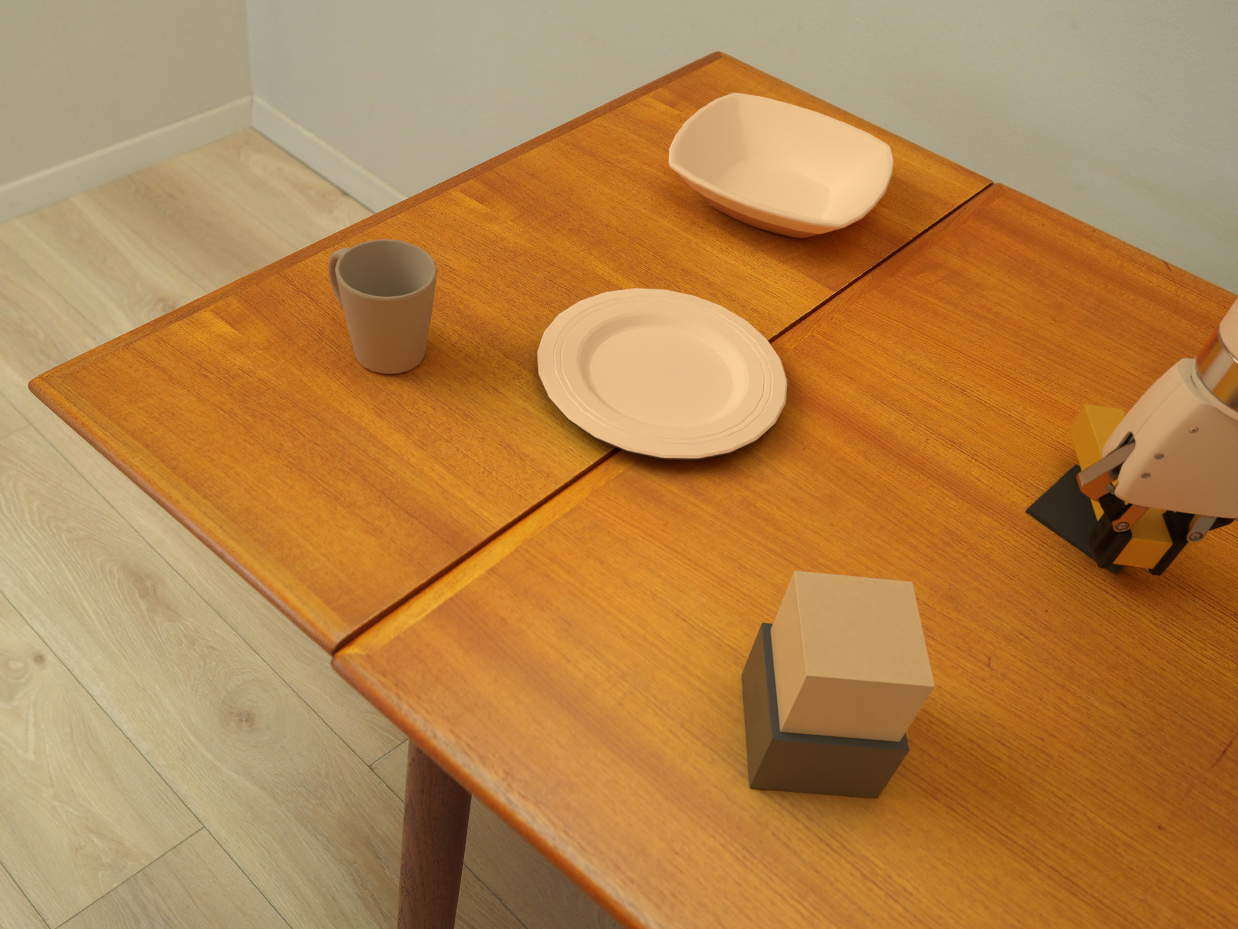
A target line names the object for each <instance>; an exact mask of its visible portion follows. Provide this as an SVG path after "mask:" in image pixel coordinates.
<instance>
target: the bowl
mask: <svg viewBox="0 0 1238 929" xmlns="http://www.w3.org/2000/svg"><path fill="white" fill-rule="evenodd" d="M668 149H669V150H668V166H669V168H671V170H672V171H673V172H675V174H677V175H678V176H679V178H680V179H682V180H683V181H684V182H685V183H686V184H687V185H688V186H689V187H690V188H691V189H693V190H694V191H695V192H696V193H697V195H698V194H699V196H700V197H701V198H702V199H703V200H704V201H705V202H707V203H708V205H710V206H711V207H712V208H714V209H715V210H717V211H719V212H721V213H723V214H725V215H727V216H729V217H731V218H733V219H734V220H737V221H739V222H741V223H744V224H745V225H749V226H751V227H754V228H757V229H759V230H763V231H765V232H770V233H774V234H778V235H782V236H786V237H790V238H797V239H806V238H810V237H814V236H818V235H821V234H826V233H830V232H833V231H837V230H840V229H844V228H846V227H848V226H850V225H853V224H854V223H856V222H858V221H861V220H862V219H863V218H864V217H865V216H866V215H868V214H869V213H870V212H871V211H872V210H873V209H874V208H875V207H876V205H877V204H878V203H879V202H880V200H881V199H882V198H883V196H884V195H885V194H886V192H887V190H888V187H889V185H890V181H891V179H892V177H893V171H894V164H895V161H894V155H893V152H892V148H891V146H890V145H889V144H888V143H886V142H884V141H883V140H881V139H880V138H878V137H876V136H874V135H872V134H871V133H869V132H867V131H865V130H863V129H860V128H858V127H857V126H856V127H855V126H853V125H851V124H849V123H846V122H844V121H842V120H839V119H836V118H834V117H831V116H829V115H826V114H823V113H821V112H819V111H815V110H812V109H808V108H805V107H802V106H798V105H795V104H792V103H789V102H785V101H780V100H778V99H777V100H776V99H773V98H769V97H765V96H761V95H755V94H748V93H743V92H731V93H729V94H726V95H724V96H723V95H722V96H721V97H718V98H715V99H713V100H712V101H711V102H709V103H707V104H705V105H704V106H702V107H700V108H699V109H698V110H697V111H696V112H695V113H694V114H692V115H691V116H690V117H689V118H688V119H686V120H685V122H684V123H683V125H682V126H681V127H680V128H679V129H678V131H677V132H676V134H675V136H674V138H673V140H672V142H671V144H670V146H669V148H668Z"/></svg>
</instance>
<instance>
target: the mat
mask: <svg viewBox="0 0 1238 929" xmlns="http://www.w3.org/2000/svg"><path fill="white" fill-rule="evenodd" d="M1081 471H1082V470H1081V467H1080V464H1078V463H1075V464H1074V465H1073V466H1072V467H1071V468H1070V469H1069V470H1068V471H1066V473H1064V474H1063V475H1062V476H1061V477H1060V478H1059V479H1057V481H1056V482H1054V483H1053V484H1052V485H1051V486H1050V487H1049V488H1047V490H1046V491H1045V492H1044V493H1042V494H1041V495H1040V496H1039V497H1038V498H1037V499H1036V500H1035V501H1034V502H1033V503H1031V505H1029V506H1028V507H1027V508H1026V510H1025V513H1027V514H1028V515H1030V516H1031V517H1032V518H1034V519H1035V520H1037V521H1038V522H1040V524H1042V525H1044V527H1045V526H1046V527H1047V528H1048V529H1049V530H1051V531H1052V532H1054V533H1055V534H1057V535H1058V536H1059V537H1061V538H1062V539H1063V540H1065V541H1067V542H1068V543H1069V544H1071V545H1072V546H1074V547H1075V548H1077V549H1078V550H1079V551H1080V552H1082V553H1084V554H1085V555H1086V556H1088V558H1090V559H1092V560H1093V561H1095V562H1096V559H1095V555H1094V552H1093V550H1092V549H1091V548H1090V545H1089V541H1088V537H1089V533H1090V531H1091V530H1092V529H1093V527H1094V526H1095V524H1096V523H1097V522H1098V521H1097V518H1096V515H1095V511H1094V508H1093V505H1092V502H1091V499H1090V498H1089V497H1088V496H1086V495H1085V494H1084V493H1082V492H1081V491H1080V488H1079V485H1078V482H1077V479H1076V476H1077V474H1078V473H1079V472H1081ZM1125 566H1126V565H1120V564H1112V565H1111V566H1110V567H1108V568H1107V569H1106V570H1107V571H1109V572H1110V573H1112V574H1113V575H1114V576H1117V575H1118V574H1119V573H1120V572H1121V571H1122V570H1123V568H1125Z"/></svg>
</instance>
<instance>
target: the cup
mask: <svg viewBox="0 0 1238 929" xmlns="http://www.w3.org/2000/svg"><path fill="white" fill-rule="evenodd" d="M327 269H328V277H329V281H330V285H331V288H332V291H333V293H334V296H335V298H336V299H337V301H338V303H339V305H340V307H341V308H342V310H343V315H344V319H345V322H346V326H347V330H348V334H349V338H350V342H351V345H352V346H351V347H352V349H353V353H354V357H355V358H356V360H357V362H358V363H359V364H360V365H361V366H362V367H363V368H365V369H368V371H371V372H374V373H379V374H384V375H385V374H386V375H396V374H402V373H405V372H409V371H411V370H412V369H415V368H416V367H418V366H419V365H420V364H421V363H422V362H423V360H424V358H425V357H426V356H425V355H426V351H427V343H428V339H429V333H430V326H431V321H432V315H433V308H434V300H435V292H436V284H437V276H438V268H437V264H436V261H435V260H434V259H433V257H432V256H431V255H430V254H429V252H427V251H426V250H424V249H423V248H422V247H420V246H418V245H416V244H414V243H411V242H407V241H403V240H399V239H388V238H383V239H372V240H368V241H363V242H360V243H357V244H355V245H354V246H351V247H343V248H339V249H337V250H335V251H334V252H333V253H331V254H330V255H329V258H328V263H327Z"/></svg>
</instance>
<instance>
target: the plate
mask: <svg viewBox="0 0 1238 929" xmlns="http://www.w3.org/2000/svg"><path fill="white" fill-rule="evenodd" d="M536 356H537V371H538V378H539V380H540V382H541V384H542V387H543V389H544V391H545V393H546V395H547V397H548V399H549V401H550V402H551V403H552V404H553V405H554V406H555V407H556V408H557V410H558V411H559V412H560V413H561V414H562V415H563V416H564V418H566V419H567V421H569V422H570V423H571V424H573V425H574V426H576V427H577V428H579V429H580V430H582V431H583V432H585V433H586V434H588V435H589V436H591V437H592V438H594V439H595V440H597V441H600V442H603V443H604V444H607V445H609V446H612V447H615V448H616V449H619V450H621V451H624V452H626V453H630V454H636V455H640V456H644V457H650V458H654V459H660V460H684V461H685V460H688V461H689V460H690V461H694V460H695V461H700V460H703V459H704V460H705V459H709V458H714V457H719V456H725V455H729V454H732V453H734V452H736V451H739V450H740V449H742V448H746V447H747V446H749V445H751V444H754V443H755V442H757V441H759V439H760V438H761V437H762V436H764V435H765V434H766V433H767V432H769V431H770V430H771V429H772V427H774V426H775V425H776V423H777V421H778V418H779V417H780V415H781V414H782V411H783V410H784V407H785V406H786V404H787V403H786V402H787V391H788V379H787V376H786V372H785V369H784V365H783V362H782V359H781V357H780V356H779V355H778V353H777V352H776V350H775V349H774V347H773V346H772V345H771V343H770V341H769V340H768V339H767V338H766V337H765V336H764V335H763V334H762V333H761V332H760V331H759V330H758V329H756V327H754V326H753V325H752V324H751V323H750V322H748V320H746V319H745V318H743V317H741V316H740V315H738V314H736V313H734V312H732V311H731V310H730V309H728V308H725V307H724V306H723V305H720V304H717V303H715V302H712V301H710V300H707V299H704V298H701V297H699V296H696V295H693V294H689V293H683V292H678V291H674V290H669V289H663V288H641V287H640V288H638V287H637V288H636V287H634V288H633V287H632V288H626V289H619V290H618V289H617V290H610V291H605V292H602V293H599V294H595V295H592V296H590V297H587V298H584V299H581V300H579V301H577V302H575V303H574V304H572V305H571V306H569V307H568V308H566V309H564V310H563V311H561V312H560V313H558V314H557V315H556V317H554V319H553V320H552V322H551V323H550V324H549V325H548V326H547V328H546V329H545V330H544V331H543V334H542V337H541V340H540V343H539V346H538V348H537V351H536Z"/></svg>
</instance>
